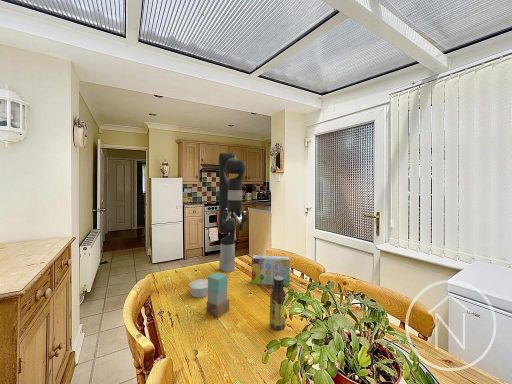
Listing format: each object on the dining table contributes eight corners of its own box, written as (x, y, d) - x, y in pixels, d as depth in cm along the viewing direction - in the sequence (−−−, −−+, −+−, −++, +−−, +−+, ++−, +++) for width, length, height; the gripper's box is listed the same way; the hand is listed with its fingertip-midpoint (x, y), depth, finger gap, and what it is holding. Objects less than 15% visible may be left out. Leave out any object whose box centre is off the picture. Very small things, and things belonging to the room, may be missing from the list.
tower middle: (207, 301, 100) (207, 290, 100) (217, 295, 105) (217, 285, 105) (217, 305, 97) (217, 294, 96) (227, 299, 102) (227, 288, 101)
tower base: (206, 312, 100) (206, 301, 100) (217, 305, 106) (218, 295, 106) (218, 318, 96) (218, 306, 96) (229, 310, 102) (229, 299, 102)
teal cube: (207, 290, 100) (208, 276, 100) (217, 285, 105) (217, 272, 105) (218, 293, 97) (218, 279, 96) (227, 288, 102) (227, 275, 101)
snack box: (288, 282, 132) (289, 256, 131) (289, 286, 126) (290, 259, 126) (252, 280, 134) (252, 254, 133) (251, 284, 128) (251, 257, 128)
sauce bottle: (268, 321, 94) (269, 274, 93) (283, 320, 95) (284, 273, 94) (271, 331, 88) (272, 280, 87) (287, 331, 88) (288, 280, 88)
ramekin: (206, 300, 110) (206, 289, 110) (184, 297, 113) (184, 287, 112) (214, 289, 121) (214, 279, 121) (195, 287, 124) (195, 277, 123)
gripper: (220, 198, 120) (219, 228, 122) (240, 200, 112) (240, 233, 113) (229, 197, 126) (229, 226, 128) (250, 199, 118) (249, 230, 119)
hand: (234, 229), depth 120 cm, fingers open, 8 cm apart
